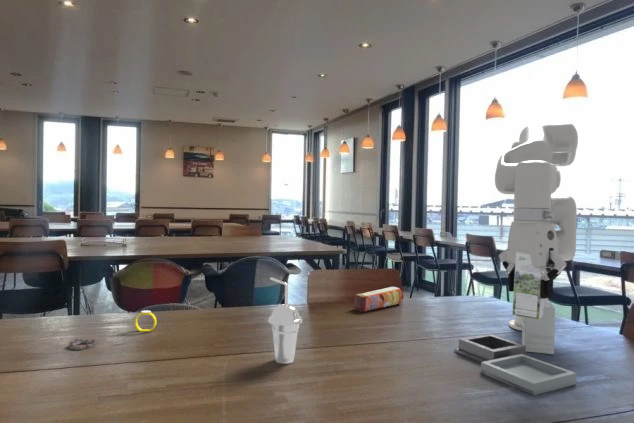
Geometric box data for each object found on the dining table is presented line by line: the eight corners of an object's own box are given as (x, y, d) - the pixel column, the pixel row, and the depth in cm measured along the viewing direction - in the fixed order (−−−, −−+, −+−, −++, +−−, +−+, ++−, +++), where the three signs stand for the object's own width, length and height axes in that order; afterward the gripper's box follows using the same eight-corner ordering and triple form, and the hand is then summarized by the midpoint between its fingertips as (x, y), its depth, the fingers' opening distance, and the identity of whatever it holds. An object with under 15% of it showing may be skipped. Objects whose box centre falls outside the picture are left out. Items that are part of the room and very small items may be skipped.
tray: (521, 363, 114) (521, 353, 114) (575, 384, 102) (576, 373, 102) (480, 372, 108) (481, 362, 107) (533, 395, 95) (534, 383, 95)
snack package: (365, 313, 163) (365, 294, 163) (352, 310, 168) (352, 291, 168) (403, 305, 178) (403, 287, 177) (389, 302, 183) (390, 285, 182)
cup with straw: (275, 368, 108) (276, 283, 107) (261, 356, 116) (262, 277, 115) (307, 363, 112) (309, 281, 111) (292, 352, 120) (293, 275, 119)
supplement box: (550, 346, 128) (551, 301, 128) (554, 355, 121) (555, 307, 121) (521, 343, 131) (522, 299, 130) (523, 351, 124) (525, 304, 123)
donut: (97, 352, 119) (97, 344, 119) (63, 356, 116) (63, 348, 116) (98, 342, 127) (98, 335, 126) (66, 345, 123) (66, 338, 123)
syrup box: (543, 315, 105) (547, 252, 105) (539, 320, 100) (543, 253, 100) (516, 311, 108) (520, 249, 108) (511, 315, 103) (515, 250, 103)
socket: (489, 345, 129) (489, 332, 128) (529, 359, 117) (530, 346, 117) (454, 351, 122) (454, 338, 122) (493, 367, 111) (494, 353, 111)
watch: (156, 330, 138) (158, 311, 138) (153, 333, 135) (155, 313, 135) (136, 329, 138) (137, 309, 137) (133, 331, 135) (134, 311, 135)
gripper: (579, 218, 98) (577, 300, 98) (510, 215, 113) (508, 286, 114) (557, 218, 94) (554, 303, 95) (489, 215, 110) (487, 288, 110)
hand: (529, 293), depth 104 cm, fingers closed on syrup box, 7 cm apart
